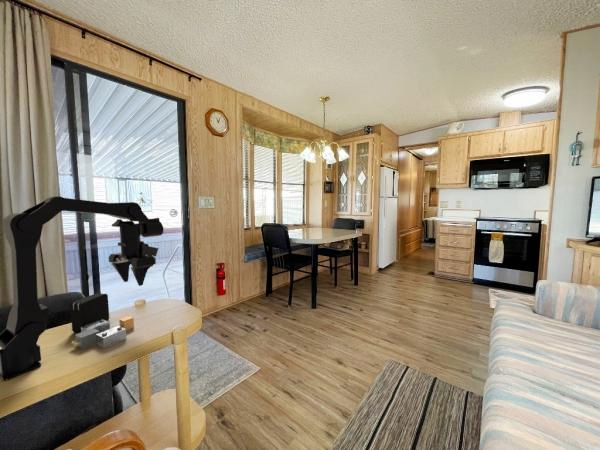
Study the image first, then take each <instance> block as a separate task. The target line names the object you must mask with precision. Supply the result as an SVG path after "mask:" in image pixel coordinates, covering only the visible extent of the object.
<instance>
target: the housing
mask: <svg viewBox="0 0 600 450" xmlns="http://www.w3.org/2000/svg"><path fill="white" fill-rule="evenodd" d="M110 324H111V323H110V321H109V320H108V321H106V320H103V319H102V320H99V321H97V322H94V323H91V324H88V325H85V326H82V327H81V332H84V331H87V330H90V329H93V328H94V329H96V330H98V331H99V332H100V333H98V334H96V341H97V344H96V346H99V347H100V348H101V349H107V348H109V347H111V346H113V345H116V344H118V343H120V342H122V341H123V342H124V341H125V340H127V331H126V329H124V328H122V327H120V325H117V326H114V327H111V325H110ZM81 332H80V333H81Z"/></svg>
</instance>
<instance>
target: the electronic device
mask: <svg viewBox="0 0 600 450" xmlns="http://www.w3.org/2000/svg"><path fill="white" fill-rule="evenodd" d="M109 306H110V305H109V295H108V293H94V294H93V293H92V295H88V296H85V297H83V298H81V299H80V298H79V299H78V300H75V301H72V302H71V303H70V305H69V308H70V318H71V319H70V320H71V331H72V332H73V333H81V327H82V326H85V325H88V324H91V323H94V322H97V321H99V320H102V319H103V320H106V321H108V322H109V319H110V310H109Z"/></svg>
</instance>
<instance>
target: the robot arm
mask: <svg viewBox="0 0 600 450" xmlns="http://www.w3.org/2000/svg"><path fill="white" fill-rule="evenodd" d="M61 212H71V213H72V212H73V213H83V214H84V213H85V214H97V215H106V216H109V217H113V218H115V219H116V218H117V219H116V221H115V222H113V223H111V227H117V228H119V239H120V242H117V246H118V247H120V252H115V253H110V254H109V256H108V263H110V264H111V266H112V267H113V268H114V270H115V271H116V272H117V274H118V275H119V276H120V277H121V279H122V280H123V282H124V283H128V282H129V273H130V268H131V271H132V273H133V276H134V278H135V281H136V282H137V286H139V287H140V286H143V285H144V282H145V278H146V275H147V273H148V271H149V269H151V268H152V267H153V266H154V265H156V264H157V259H156V257H157V254H158V252H159V248H158V247H154V246H149V244H148V243H145V242H144V240H141V237H143V238H151V237H159V236H162V235H163V233H164V228H165V227H164V226H163V223H162V222H161V221H160V217H152V218H149V217H148V216H147V215H146V214H145V213H144V212H143V210H142V207H141V206H140V204H139V203H137V202H134V201H133V202H131V201H130V202H128V201H127V202H126V201H125V202H104V201H102V202H101V201H95V200H87V199H85V200H84V199H79V198H78V199H76V198H68V197H63V196H60V195H59V196H58V195H57V196H49V197H47V198H46V199H45V200H43V201H41V202H39V203H37V204H35V205H33V206H32V207H29V208H27V209H25V210H24V211H21V212H17V213H12V214H8V215H7V216H6V217H4V218H3V219H2V221H1V227H2V229H3V233H4V236H5V239H6V240H7V243H8V245H9V247H10V249H11V250H10V251H11V269H12V270H11V271H12V275H11V276H12V296H13V297H12V299H13V300H12V301H13V304H12V307H11V308H10V311H9V313H8V317H7V323H6V328H4V330H2V332H0V348H1V349H0V376H1V377H2V378H3V379H2V378H1V377H0V378H1V379H2V380H3V381H7V380H6V379H8V380H10V379H13V378H15V377H18V376H20V375H22V374H25V373H27V372H29V371H33V370H35V369H36V368H40V367H41V366H42V363H41V361H42V357H41V356H42V354H41V346H40V345H39V344H38V340H39V338H40V336H41V335H43V334H44V332H45V331H46V330H47V324H51V321H50V320H49V313H50V308H49V307H47V306H46V305H44V304H41V303H39V297H38V294H39V293H38V273H37V248H38V247H37V246H38V244H39V242H40V240H41V237H42V232H43V227H44V225H45V224H47V223H48V222H50V221H52V220H53V219H54V218H55V217H56V216H57V215H58V214H59V213H61ZM124 220H125V221H124ZM135 222H138V223H135ZM130 266H131V267H130ZM12 377H13V378H12Z"/></svg>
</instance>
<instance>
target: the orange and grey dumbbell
mask: <svg viewBox="0 0 600 450" xmlns="http://www.w3.org/2000/svg"><path fill="white" fill-rule="evenodd" d="M118 320H119V326H120V327H122V328H124V329H126V332H127V331H129V330H132V329H134V328H135V322H134V317H133V316H130V315H128V316H125V317H122V318H120V319H118ZM98 333H100V332H99V331H98V330H96V329H94V328H93V329H90V330H87V331H84V332H78V333H77V334H74V336H75V340H73V341H71V345H73V346H74V347H77V348H78V349H80V350H84V349H86V348H89V347H92V346H94V345H97V341H96V334H98Z"/></svg>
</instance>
